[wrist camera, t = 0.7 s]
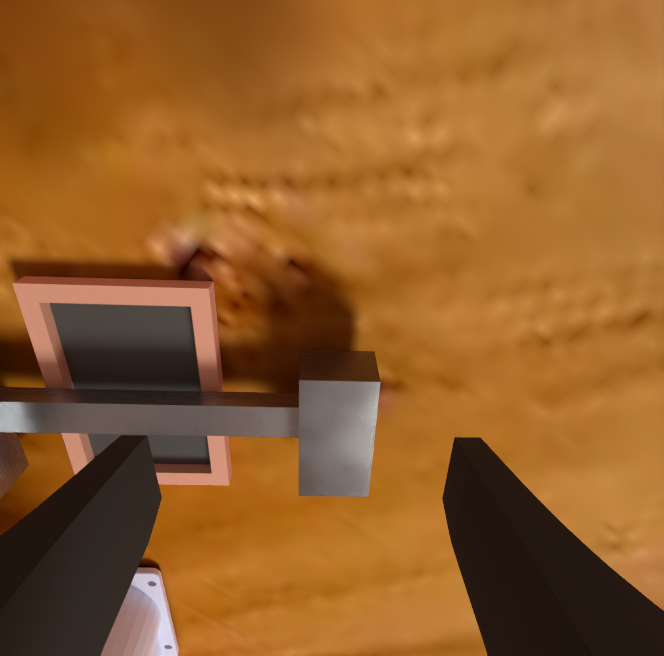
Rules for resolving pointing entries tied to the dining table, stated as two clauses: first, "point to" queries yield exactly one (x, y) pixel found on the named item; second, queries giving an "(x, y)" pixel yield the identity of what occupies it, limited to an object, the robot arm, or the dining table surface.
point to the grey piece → (223, 418)
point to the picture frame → (131, 357)
